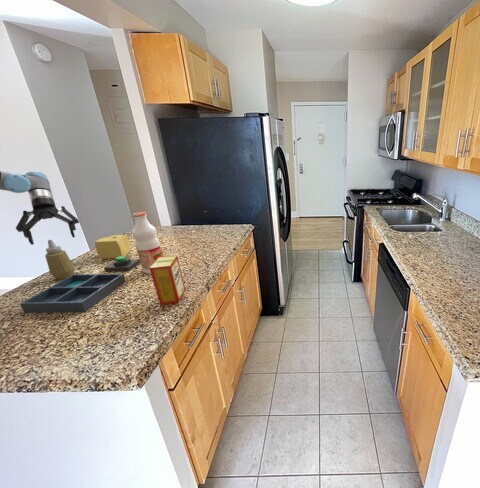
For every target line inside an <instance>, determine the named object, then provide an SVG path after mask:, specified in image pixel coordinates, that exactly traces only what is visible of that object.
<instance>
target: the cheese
mask: <svg viewBox="0 0 480 488" xmlns="http://www.w3.org/2000/svg"><path fill="white" fill-rule="evenodd" d="M94 246H95V249H96V252H97V254H98V256H99V257H100V259H101V260H108V259H109V260H110V259H116V258H117V257H119V256H126V255H127V254H128V253H130V252H131V251H132V250H131V246H130V242H129V239H128V236H127V235H126V234H113V235H109V236H107V237H106V236H105V237H102V238H99V239H97V240H96V241H94Z"/></svg>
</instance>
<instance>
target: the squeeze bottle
mask: <svg viewBox="0 0 480 488" xmlns="http://www.w3.org/2000/svg"><path fill="white" fill-rule="evenodd" d="M47 246H48V247H47V248H45V252H46V254H45V255H44V257H45V260H46V263H47V267H48V271H49V274H50V275H51V276H52V277H53V278H55V279H56V280H57V281H59V280H60V281H62V280H64V279H65V278H67V277H69V276H71V275H73V274H75V265H74V264H73V262H72V260H71V259H70V257H69V255H68V253H67V252H66V250H64V249H62V247H61V246H60V245H56V244H55V242H54V241H53V240H52V239H47Z"/></svg>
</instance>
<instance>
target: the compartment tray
mask: <svg viewBox="0 0 480 488" xmlns="http://www.w3.org/2000/svg"><path fill="white" fill-rule="evenodd" d="M126 282H127V280H126V278H125V274H124V273H79V274H77V273H76V274H75V273H74V274H73V275H71V276H69V277H67V278H65V279H61V280H60V281H58V282H56V283H54V284H53V285H51V286H49V287H47V288H46V289H44V290H42V291H40V292H38V293H36V294H35V295H33V296H31V297H29V298H27V299H26V300H24V301H22V302H20V303H19V305H20V307H21V310H22V311H23V313H24V314H35V313H36V314H37V313H38V314H40V313H43V314H44V313H85V312H87V311H88V310H90V309H91V308H93V307H94V306H96V304H98V303H99V302H101V301H102V300H103V299H105V298H106V297H108V295H109V296H110V294H111V293H113V292H114V291H116V290H117V289H118V288H120V287H121V286H122V285H123V284H125V283H126Z"/></svg>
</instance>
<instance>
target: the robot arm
mask: <svg viewBox="0 0 480 488" xmlns="http://www.w3.org/2000/svg"><path fill="white" fill-rule="evenodd" d="M50 183H51V182H50V180H49V178H48V176H47V175H46V174H44V173H43V172H40V171H35V170H34V171H28V172H26V173H25V174H18V173H12V172H8V171H2V170H0V190H1V191H7V192H11V193H15V194H23V193H26V192H27V193H28V196H29V199H30V204H31V207H32V210H31V211H27V210H23V211H22V215H21V217H20V219H19V221H18V223H17V225H16V226H15V230H16V231H17V232H18V233H22V234H23V237H24V238H25V239H27V240H28V242H29V244H30V245H31V246H33V245H35V243H34V239H33V234H32V231H31V229H33V228H34V227H35V225H37V223H38V222H40V221H41V220H47V219H53V218H55V219H56V220H57V219H58V220H60V221H62V222H65V223H66V224H67V225H68V228H69V232H70V235H71V237H72V238H76V235H75V231H76V230H77V228H76V225H77V224H79V223H80V221H79V219H78V218H77V217H76V216H75V215H73V214H72V213H71V212H70V211H68V209H66V207H65V206H64V205H62V206H60V207H57V206H56V202H55V199H54V196H53V193H52V189H51V185H50ZM59 212H61V213H63V214H64V215H66V216H64V215H62V214H60V213H59ZM32 215H33V216H32ZM31 216H32V217H31ZM30 217H31V219H30ZM29 219H30V220H29Z"/></svg>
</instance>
